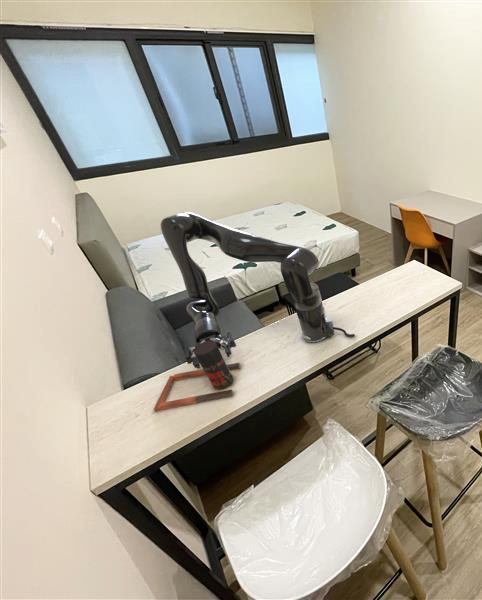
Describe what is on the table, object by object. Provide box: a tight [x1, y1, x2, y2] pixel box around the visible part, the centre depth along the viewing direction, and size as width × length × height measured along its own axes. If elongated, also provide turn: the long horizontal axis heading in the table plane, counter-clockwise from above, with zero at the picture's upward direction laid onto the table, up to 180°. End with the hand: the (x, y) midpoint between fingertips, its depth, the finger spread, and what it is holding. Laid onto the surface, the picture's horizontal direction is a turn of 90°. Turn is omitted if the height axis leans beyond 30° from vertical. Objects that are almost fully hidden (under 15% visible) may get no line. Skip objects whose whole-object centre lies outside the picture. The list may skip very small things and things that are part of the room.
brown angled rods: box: [153, 362, 242, 412], centre depth 100 cm, size 22×13×2 cm, turn 102°
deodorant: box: [193, 341, 235, 391], centre depth 97 cm, size 6×6×15 cm
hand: (213, 360), depth 99 cm, fingers open, 8 cm apart
